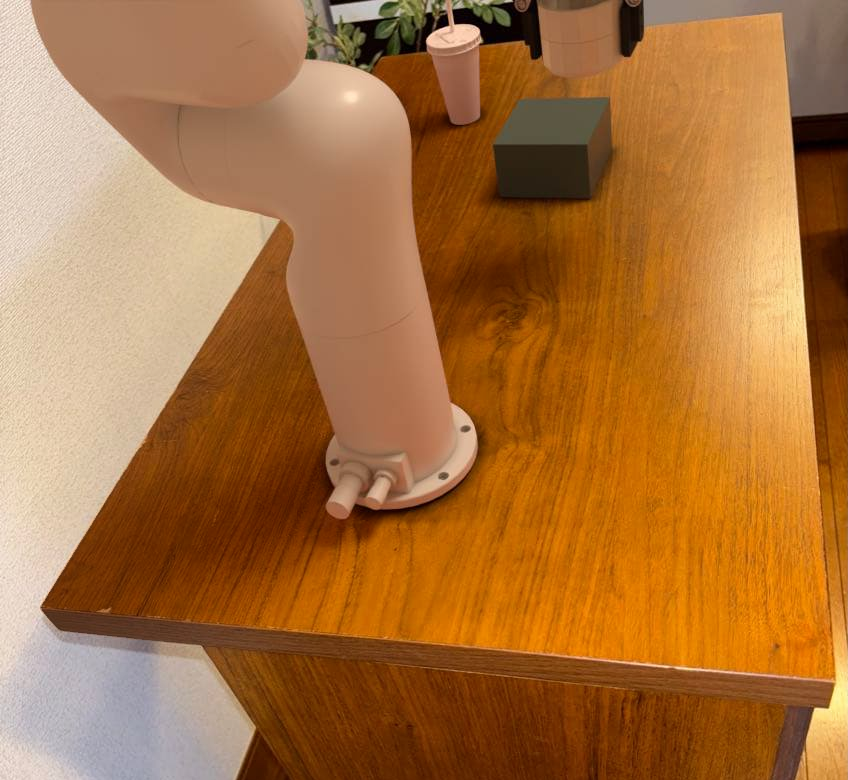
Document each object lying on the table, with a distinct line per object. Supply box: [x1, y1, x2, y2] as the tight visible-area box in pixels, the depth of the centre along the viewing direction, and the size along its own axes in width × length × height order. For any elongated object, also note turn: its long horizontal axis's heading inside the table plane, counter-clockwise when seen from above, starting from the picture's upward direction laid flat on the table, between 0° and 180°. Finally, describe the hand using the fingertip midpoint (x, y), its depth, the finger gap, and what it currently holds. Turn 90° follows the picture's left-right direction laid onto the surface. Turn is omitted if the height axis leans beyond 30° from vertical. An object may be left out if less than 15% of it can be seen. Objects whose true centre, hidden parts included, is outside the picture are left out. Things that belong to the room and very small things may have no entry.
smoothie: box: [425, 0, 482, 126], centre depth 115 cm, size 6×6×14 cm
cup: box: [536, 0, 625, 79], centre depth 83 cm, size 7×7×6 cm
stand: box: [492, 96, 613, 200], centre depth 105 cm, size 10×10×6 cm
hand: (584, 50), depth 84 cm, fingers closed on cup, 7 cm apart
